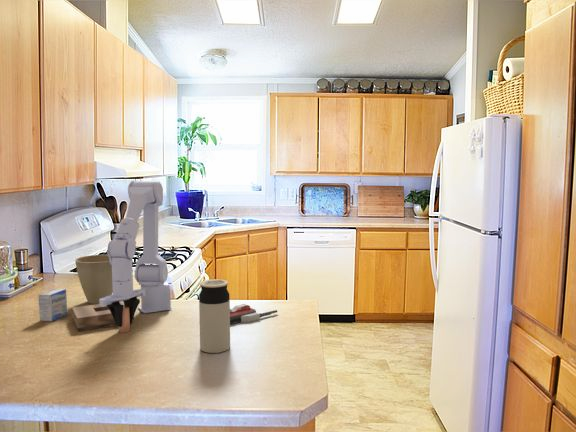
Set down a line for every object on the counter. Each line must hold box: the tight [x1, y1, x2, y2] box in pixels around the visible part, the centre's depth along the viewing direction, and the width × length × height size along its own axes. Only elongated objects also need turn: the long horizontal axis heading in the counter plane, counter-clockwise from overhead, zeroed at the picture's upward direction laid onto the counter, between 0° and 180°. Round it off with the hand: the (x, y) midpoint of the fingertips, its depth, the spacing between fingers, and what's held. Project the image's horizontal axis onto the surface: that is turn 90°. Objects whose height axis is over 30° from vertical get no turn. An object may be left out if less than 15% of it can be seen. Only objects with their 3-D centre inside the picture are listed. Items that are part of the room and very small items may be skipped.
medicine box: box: [38, 288, 68, 323], centre depth 157 cm, size 8×4×9 cm, turn 168°
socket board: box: [71, 301, 124, 332], centre depth 154 cm, size 16×13×4 cm
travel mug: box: [198, 278, 231, 354], centre depth 130 cm, size 8×8×18 cm
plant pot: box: [74, 254, 113, 305], centre depth 176 cm, size 15×15×16 cm
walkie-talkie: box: [230, 303, 278, 325], centre depth 157 cm, size 9×4×20 cm
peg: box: [118, 306, 131, 334], centre depth 145 cm, size 3×3×7 cm
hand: (124, 324), depth 145 cm, fingers closed on peg, 3 cm apart
